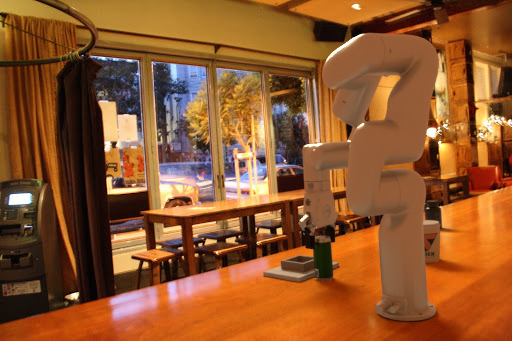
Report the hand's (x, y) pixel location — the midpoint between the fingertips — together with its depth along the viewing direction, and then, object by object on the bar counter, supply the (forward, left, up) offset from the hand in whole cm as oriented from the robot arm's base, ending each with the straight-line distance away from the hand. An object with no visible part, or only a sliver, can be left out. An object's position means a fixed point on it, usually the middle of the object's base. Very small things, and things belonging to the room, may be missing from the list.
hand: (320, 245), depth 131 cm
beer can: (0, -1, -10) cm, 10 cm away
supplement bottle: (+87, +3, -10) cm, 87 cm away
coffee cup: (+33, -17, -10) cm, 38 cm away
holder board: (+3, +10, -10) cm, 14 cm away
